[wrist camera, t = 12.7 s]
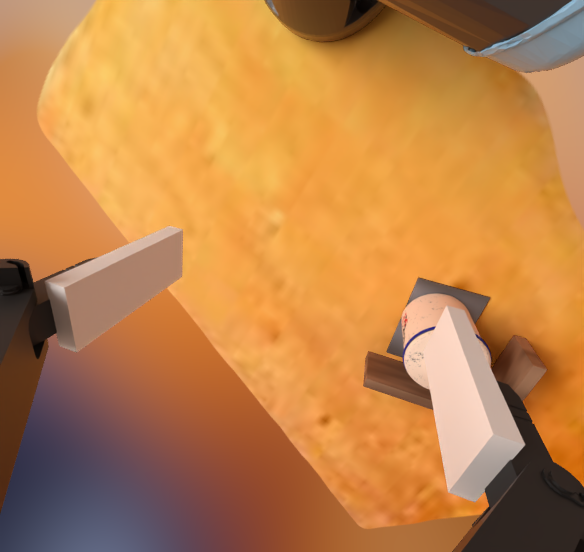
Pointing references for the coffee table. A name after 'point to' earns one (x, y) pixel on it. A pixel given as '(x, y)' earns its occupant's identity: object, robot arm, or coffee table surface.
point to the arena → (518, 353)
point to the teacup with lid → (427, 331)
